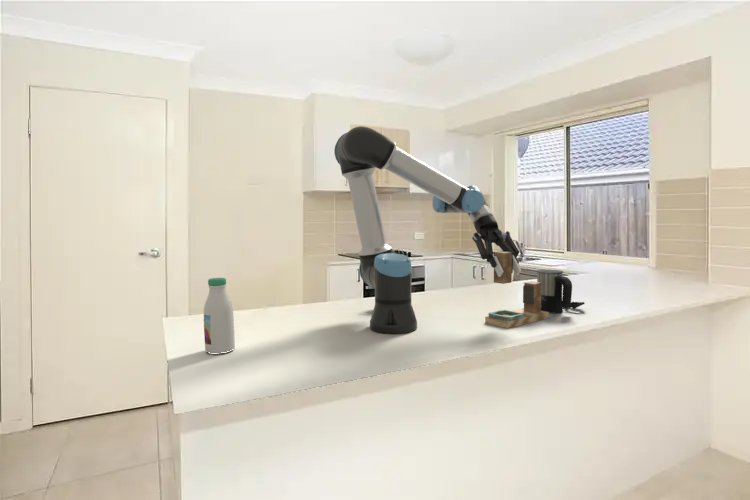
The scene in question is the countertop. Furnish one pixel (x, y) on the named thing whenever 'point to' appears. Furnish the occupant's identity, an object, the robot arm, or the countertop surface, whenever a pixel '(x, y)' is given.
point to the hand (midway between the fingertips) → (509, 273)
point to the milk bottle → (218, 318)
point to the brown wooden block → (504, 267)
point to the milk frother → (555, 291)
